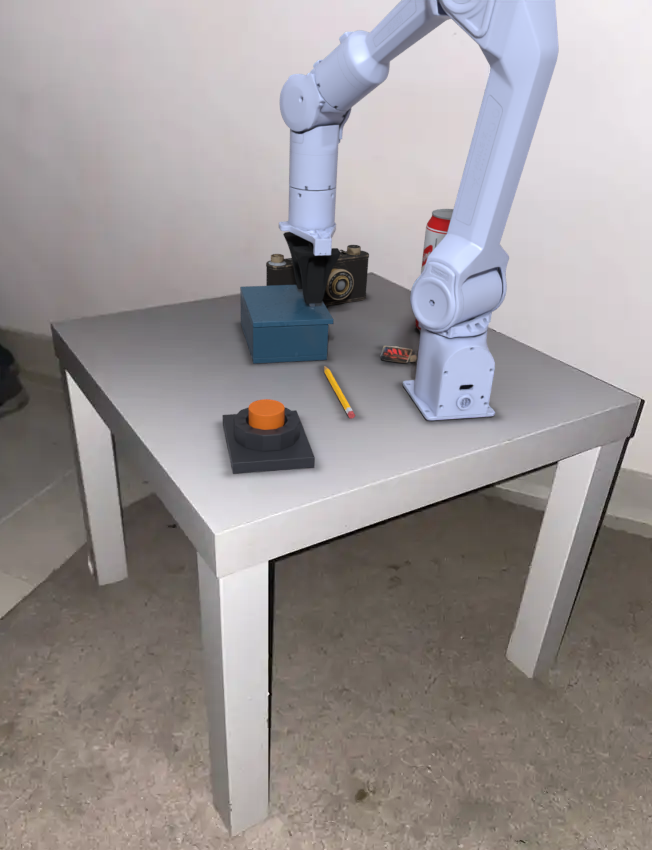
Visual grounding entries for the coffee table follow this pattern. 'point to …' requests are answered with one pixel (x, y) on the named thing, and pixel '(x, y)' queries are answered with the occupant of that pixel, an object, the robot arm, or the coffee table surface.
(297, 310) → the blue box lid
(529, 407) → the coffee table surface
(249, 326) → the blue box
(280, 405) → the button
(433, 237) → the beer can
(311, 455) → the control block
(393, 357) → the matchbox
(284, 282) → the camera
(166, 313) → the coffee table surface
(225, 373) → the coffee table surface
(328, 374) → the pencil
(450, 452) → the coffee table surface
